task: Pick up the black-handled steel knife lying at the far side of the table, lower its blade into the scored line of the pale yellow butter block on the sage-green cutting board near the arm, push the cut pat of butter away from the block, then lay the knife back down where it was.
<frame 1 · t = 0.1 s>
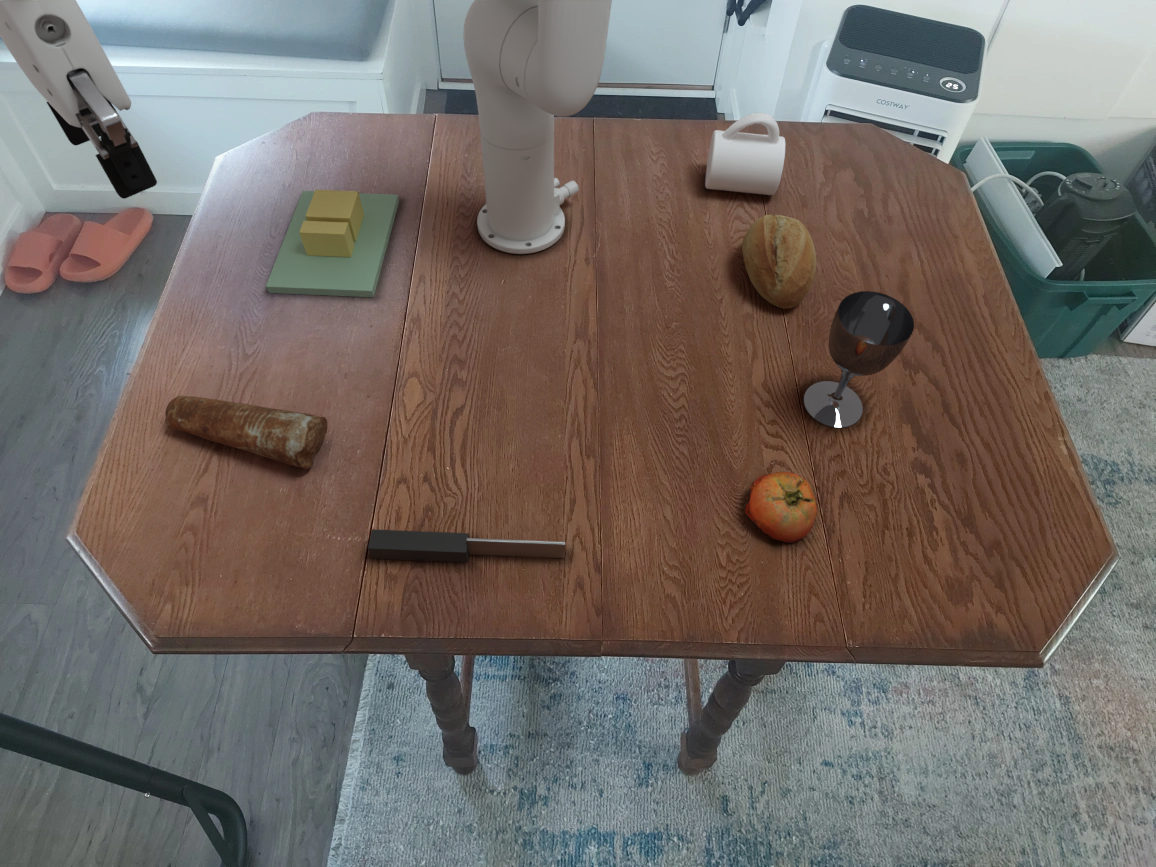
hand: (113, 163, 65), 31 cm above the table, tool pointing down, fingers open, 9 cm apart
tomato: (778, 514, 83), on the table
wine glass: (832, 405, 92), on the table
knife: (469, 553, 79), on the table
butter board: (337, 244, 106), on the table
butter pat: (327, 239, 102), point 3 cm above the table, slide at 0.0 cm
bread: (248, 443, 87), on the table
bread roll: (771, 278, 105), on the table
mug: (738, 187, 116), on the table
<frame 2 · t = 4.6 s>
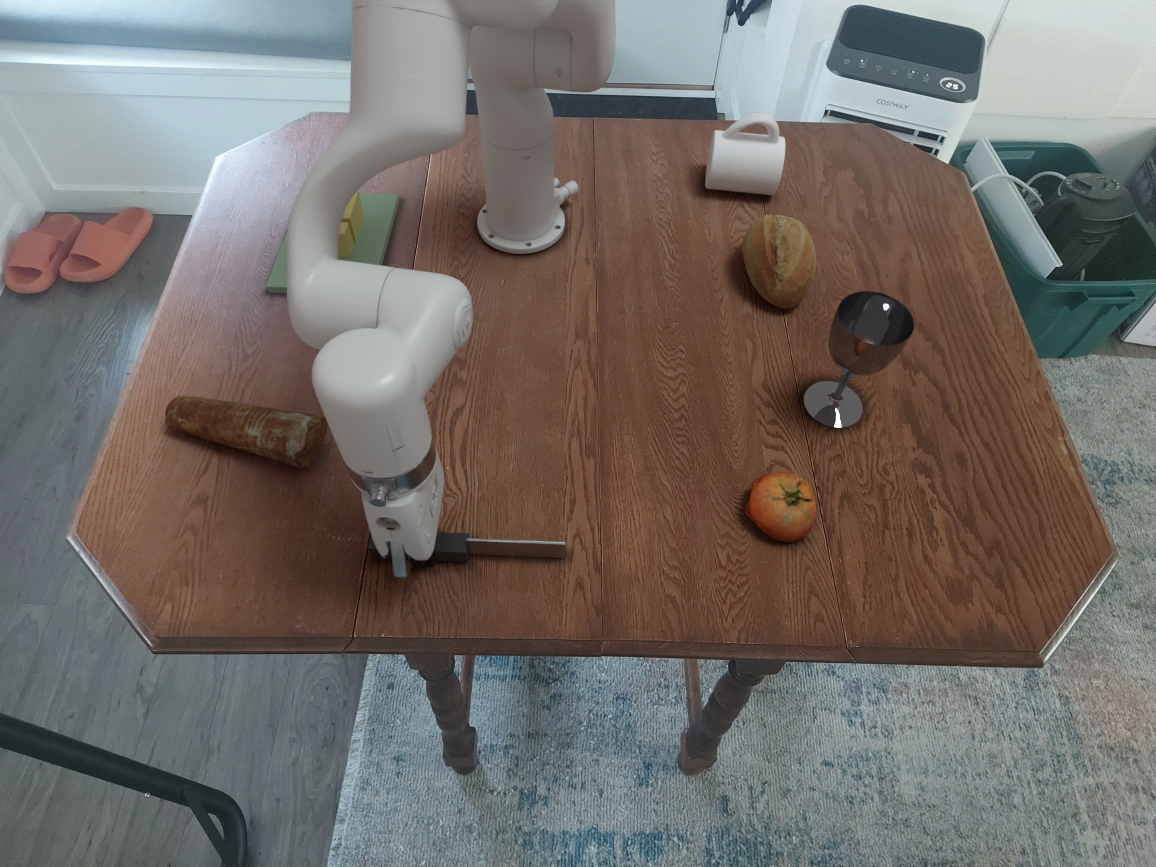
hand: (421, 549, 79), 0 cm above the table, tool pointing down, fingers closed on knife, 2 cm apart
knife: (469, 553, 79), on the table, touching gripper
everything else where it was.
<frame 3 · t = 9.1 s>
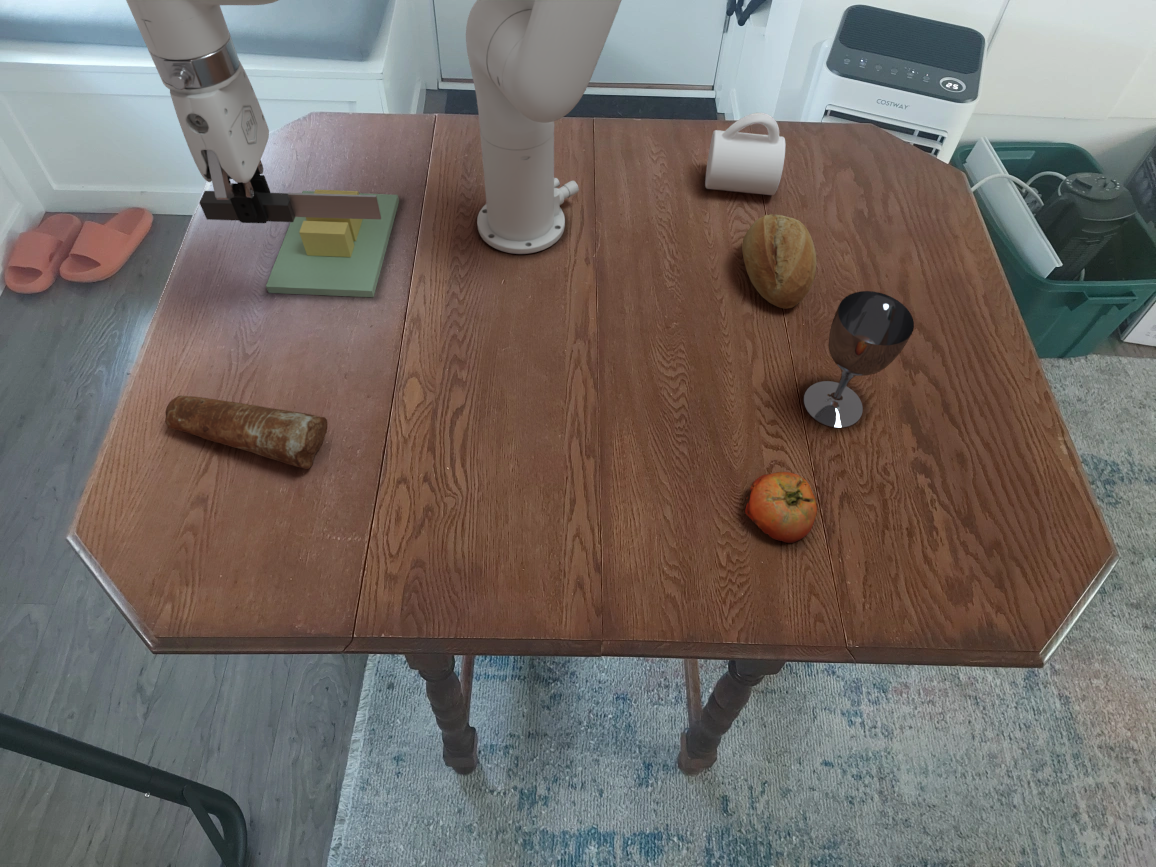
hand: (257, 212, 88), 14 cm above the table, tool pointing down, fingers closed on knife
knife: (295, 216, 89), point 14 cm above the table, touching gripper
everything else where it was.
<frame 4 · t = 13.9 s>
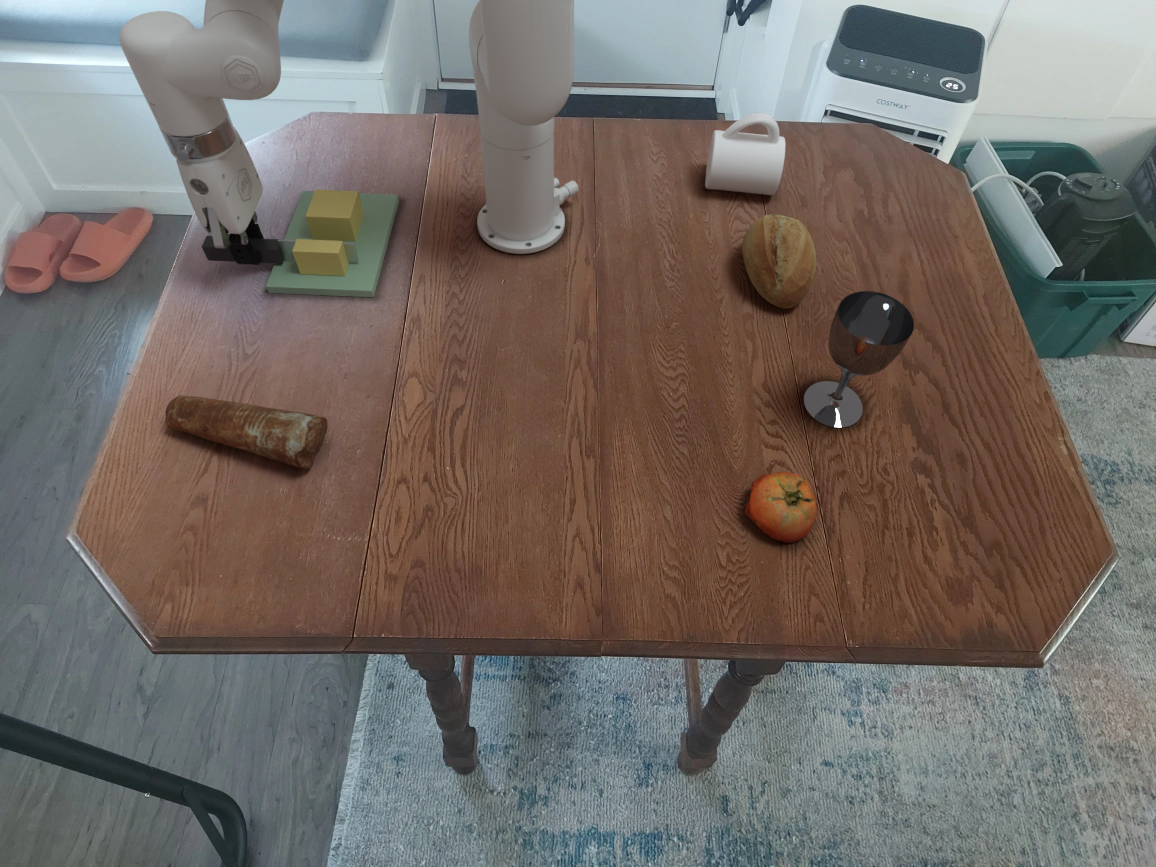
hand: (251, 254, 102), 2 cm above the table, tool pointing down, fingers closed on knife, 2 cm apart
knife: (284, 258, 102), point 2 cm above the table, touching butter pat, gripper
butter pat: (321, 257, 100), point 3 cm above the table, slide at 3.7 cm, touching knife
everything else where it was.
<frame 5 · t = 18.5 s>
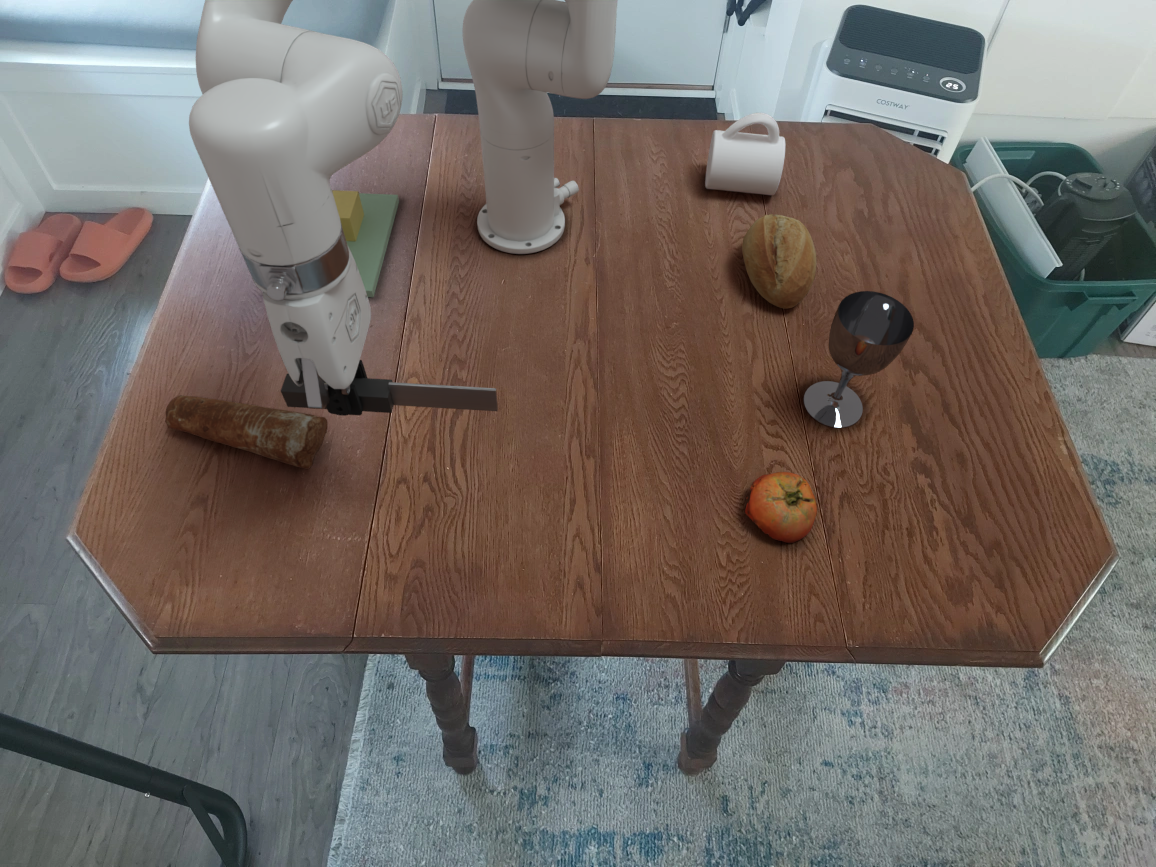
hand: (349, 399, 72), 14 cm above the table, tool pointing down, fingers closed on knife
knife: (394, 404, 73), point 14 cm above the table, touching gripper
butter pat: (321, 257, 100), point 3 cm above the table, slide at 3.7 cm
everything else where it was.
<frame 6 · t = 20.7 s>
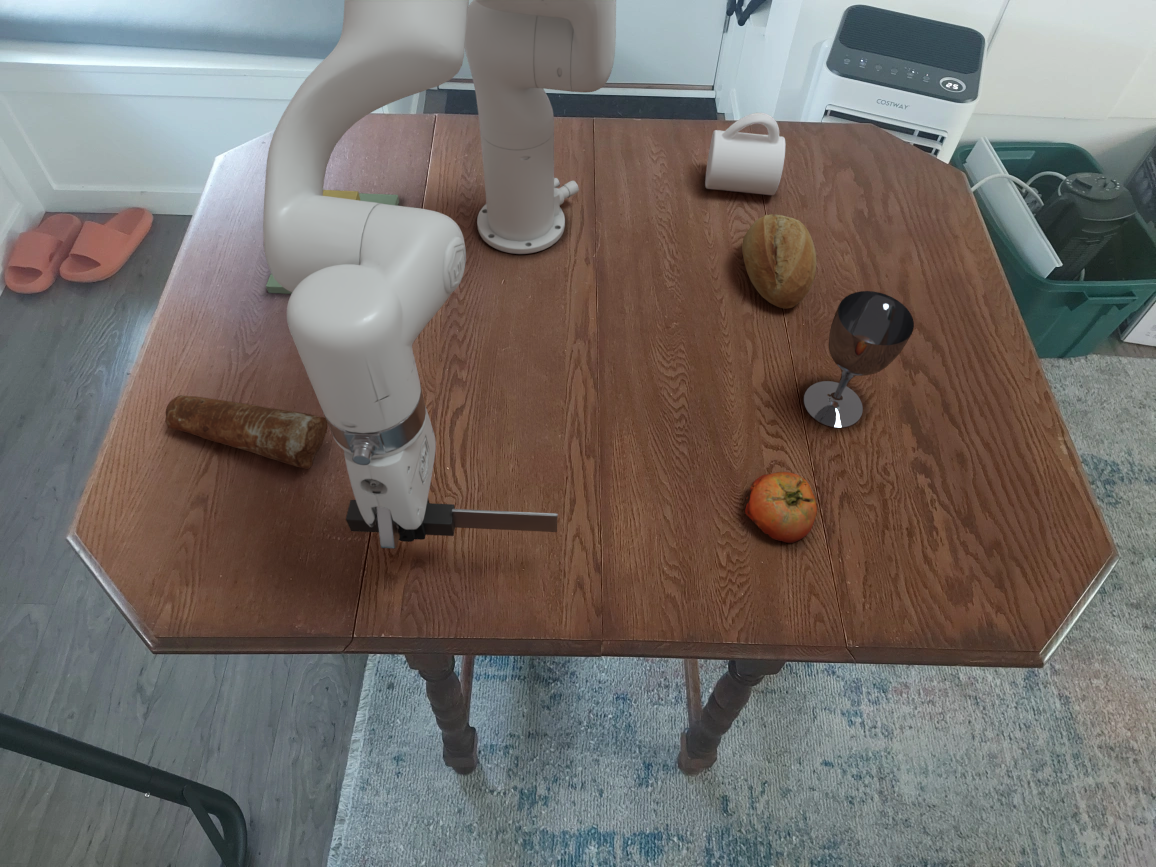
hand: (411, 522, 74), 7 cm above the table, tool pointing down, fingers closed on knife
knife: (455, 526, 74), point 6 cm above the table, touching gripper
everything else where it was.
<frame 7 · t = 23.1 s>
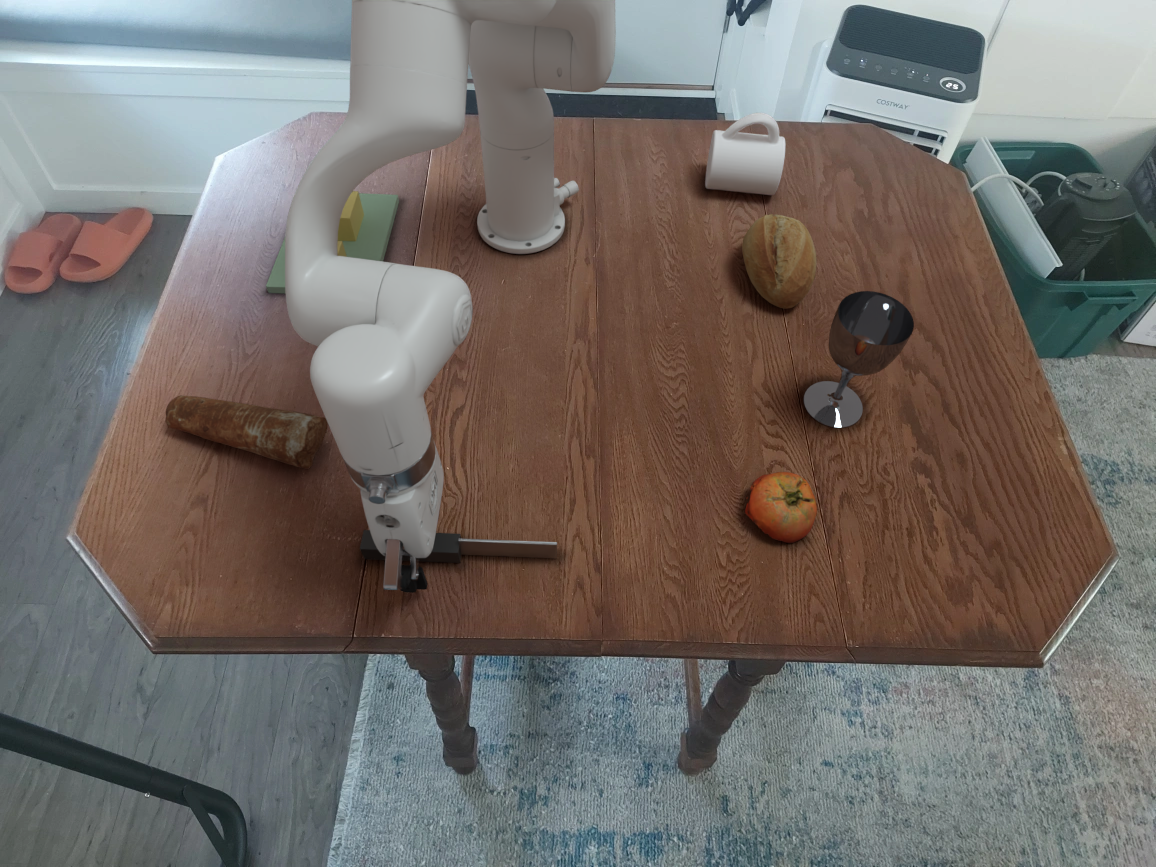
hand: (419, 542, 78), 2 cm above the table, tool pointing down, fingers open, 9 cm apart
knife: (461, 553, 79), on the table
everything else where it was.
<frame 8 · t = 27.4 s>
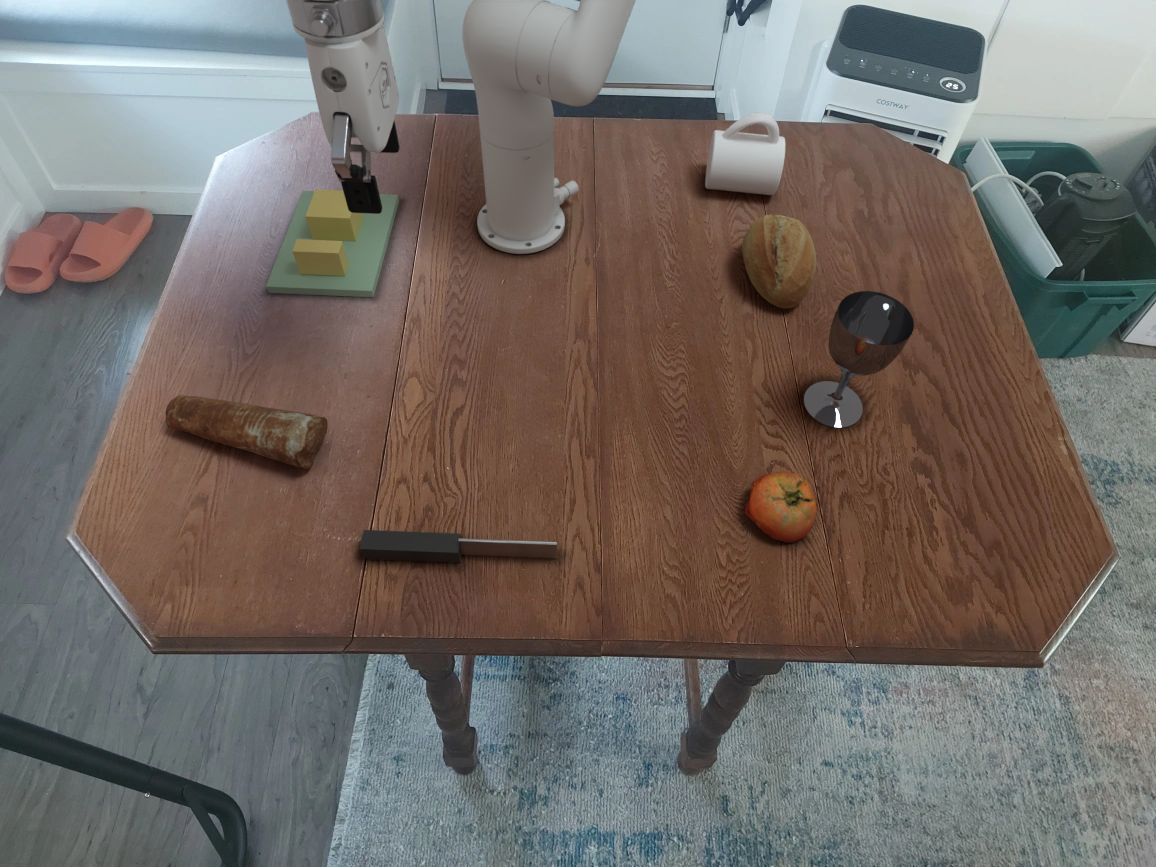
hand: (375, 180, 76), 24 cm above the table, tool pointing down, fingers open, 9 cm apart
nothing on the table moved.
at the end: butter pat slide at 3.7 cm; the gripper is holding nothing; knife inside the target area (0.8 cm from its centre), on the table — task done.
